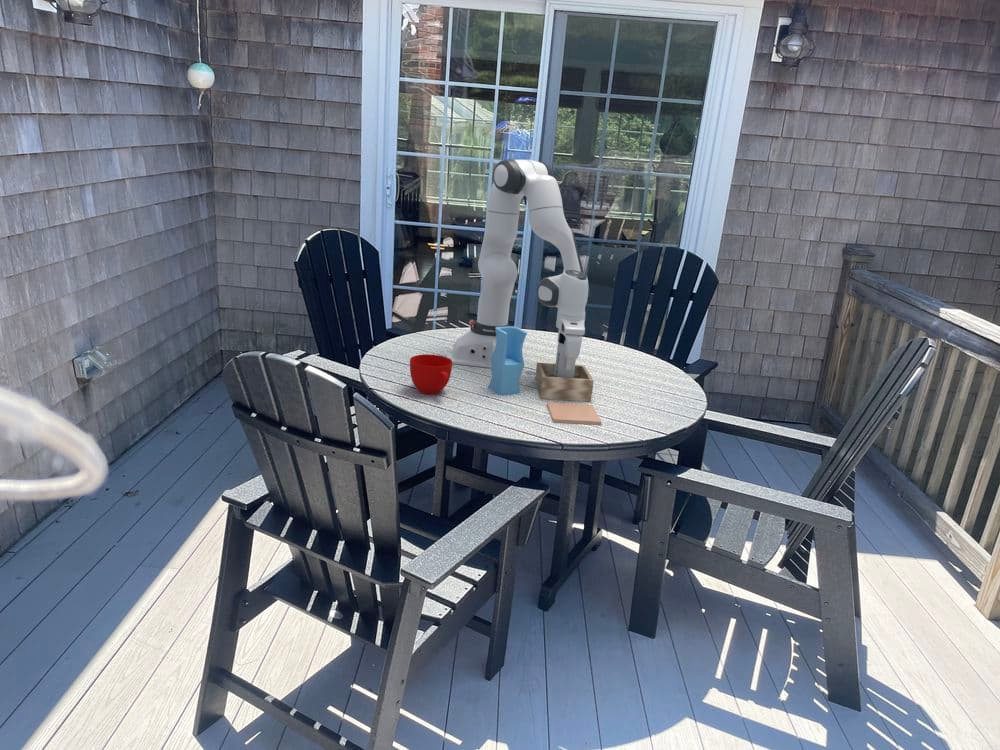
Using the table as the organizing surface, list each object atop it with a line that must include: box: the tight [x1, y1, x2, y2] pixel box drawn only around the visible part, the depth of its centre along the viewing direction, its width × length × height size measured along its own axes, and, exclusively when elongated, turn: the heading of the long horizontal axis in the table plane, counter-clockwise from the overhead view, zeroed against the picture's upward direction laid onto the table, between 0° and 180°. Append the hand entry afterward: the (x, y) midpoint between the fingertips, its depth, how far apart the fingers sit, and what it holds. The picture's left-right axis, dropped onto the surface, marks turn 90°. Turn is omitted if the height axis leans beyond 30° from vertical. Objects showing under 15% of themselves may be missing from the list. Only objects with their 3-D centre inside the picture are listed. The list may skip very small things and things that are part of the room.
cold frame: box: [534, 361, 595, 402], centre depth 234 cm, size 16×16×7 cm
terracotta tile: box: [546, 402, 603, 426], centre depth 215 cm, size 14×14×1 cm
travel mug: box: [554, 333, 577, 378], centre depth 232 cm, size 6×7×20 cm
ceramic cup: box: [409, 353, 453, 396], centre depth 221 cm, size 13×17×10 cm
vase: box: [487, 325, 528, 396], centre depth 229 cm, size 8×8×20 cm
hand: (565, 364), depth 233 cm, fingers open, 8 cm apart
